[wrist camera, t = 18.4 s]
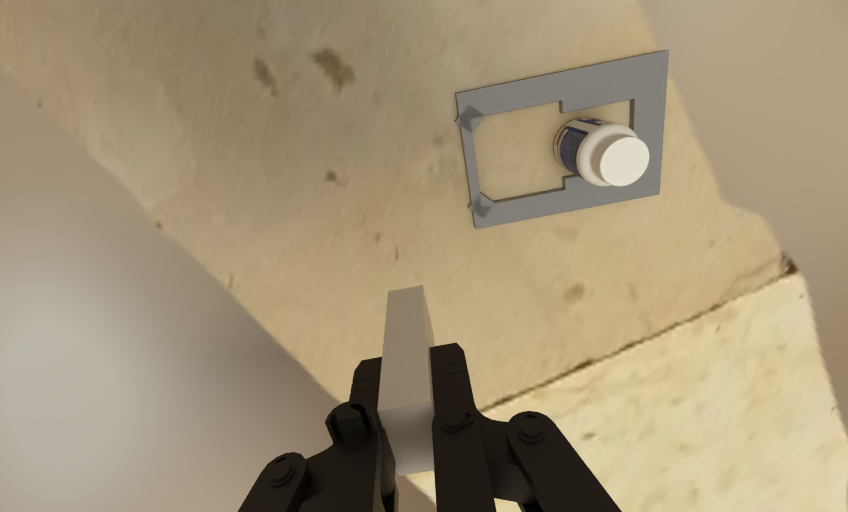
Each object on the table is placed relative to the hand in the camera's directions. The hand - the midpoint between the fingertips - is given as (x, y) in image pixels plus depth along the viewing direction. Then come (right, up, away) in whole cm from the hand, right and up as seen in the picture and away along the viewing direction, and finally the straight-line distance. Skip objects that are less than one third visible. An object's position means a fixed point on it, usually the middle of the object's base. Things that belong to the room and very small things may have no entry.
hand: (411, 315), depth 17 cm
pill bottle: (+17, +14, +23) cm, 32 cm away
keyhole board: (+15, +14, +23) cm, 31 cm away
